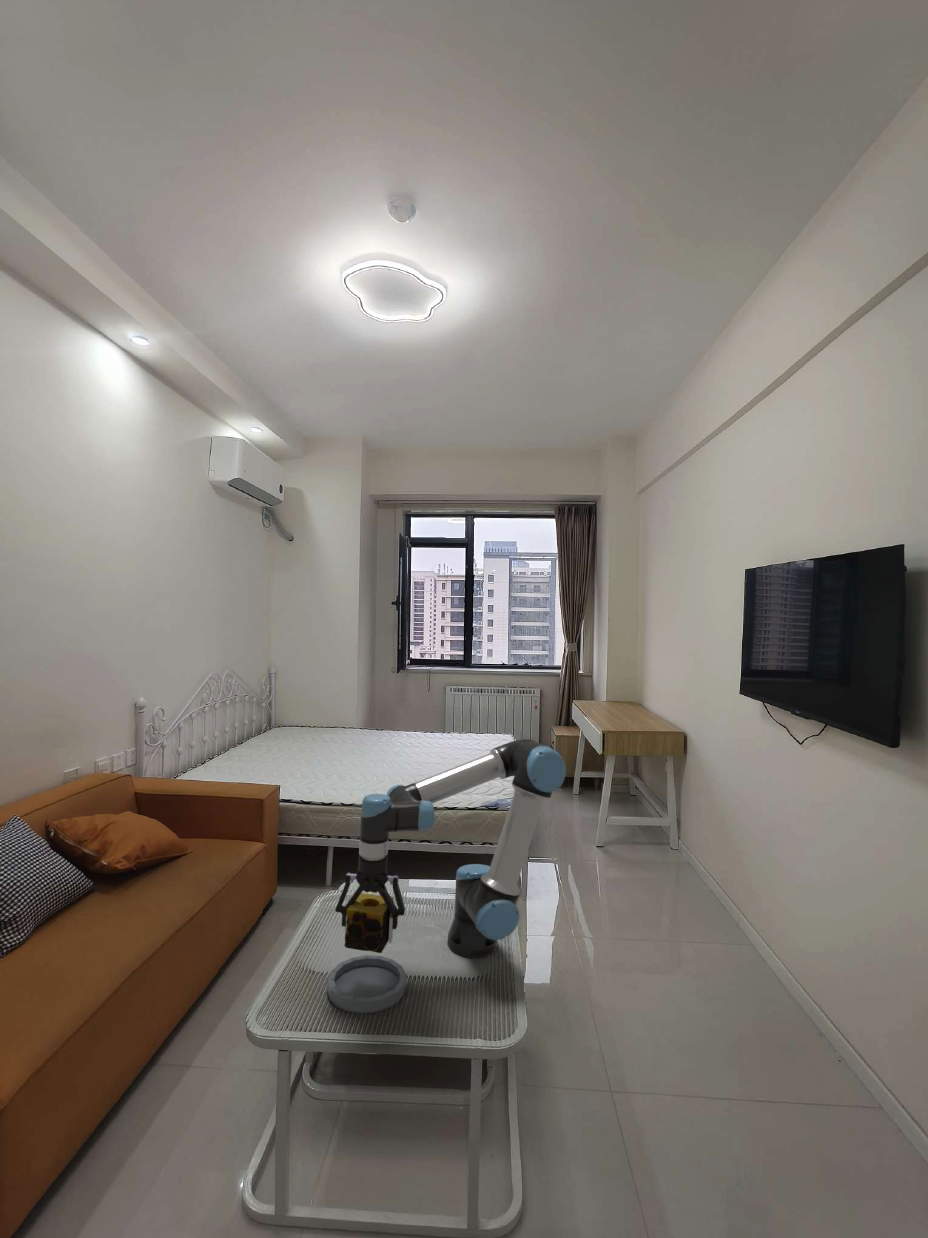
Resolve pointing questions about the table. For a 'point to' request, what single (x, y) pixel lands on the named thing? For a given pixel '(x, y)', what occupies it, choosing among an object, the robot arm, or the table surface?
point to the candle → (367, 924)
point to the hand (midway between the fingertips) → (368, 939)
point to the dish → (366, 984)
